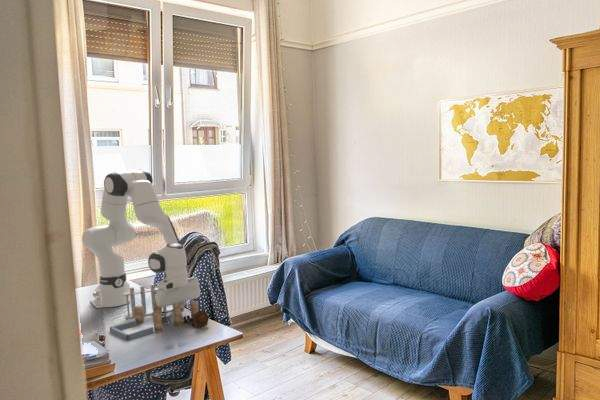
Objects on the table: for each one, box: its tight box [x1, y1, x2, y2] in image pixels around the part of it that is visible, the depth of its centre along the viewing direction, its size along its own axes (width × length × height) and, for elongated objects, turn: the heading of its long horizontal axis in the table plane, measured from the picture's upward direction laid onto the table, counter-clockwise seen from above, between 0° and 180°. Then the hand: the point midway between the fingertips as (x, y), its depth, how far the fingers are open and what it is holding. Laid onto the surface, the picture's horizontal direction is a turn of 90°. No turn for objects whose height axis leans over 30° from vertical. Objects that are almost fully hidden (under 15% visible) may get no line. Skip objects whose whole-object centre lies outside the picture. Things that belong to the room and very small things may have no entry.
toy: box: [181, 309, 210, 329], centre depth 199 cm, size 10×7×15 cm
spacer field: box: [134, 300, 200, 333], centre depth 206 cm, size 19×21×7 cm
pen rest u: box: [109, 319, 154, 341], centre depth 194 cm, size 15×11×2 cm
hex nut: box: [161, 312, 172, 325], centre depth 204 cm, size 6×5×3 cm
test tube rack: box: [123, 283, 174, 320], centre depth 217 cm, size 25×4×13 cm, turn 114°
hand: (180, 312), depth 210 cm, fingers closed
